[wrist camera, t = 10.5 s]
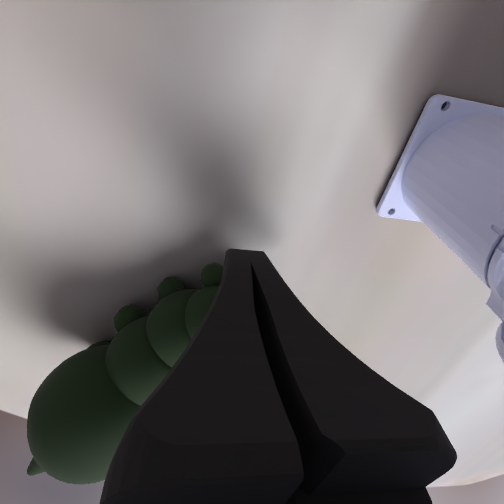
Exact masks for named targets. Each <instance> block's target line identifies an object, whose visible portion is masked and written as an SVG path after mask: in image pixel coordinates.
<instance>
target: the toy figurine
mask: <svg viewBox="0 0 504 504" xmlns="http://www.w3.org/2000/svg"><path fill="white" fill-rule="evenodd" d="M223 268H224V267H223V266H222V265H220V264H218V263H212V264H208V265H207V266H206V267H205V268H204V269H203V270H202V273H201V280H200V281H201V282H202V283H203V285H204V286H205V287H203V288H201V289H199V290H196V289H187V290H184V286H183V284H182V283H181V282H180V280H179V279H177V278H166V279H165V280H164V281H162V282H161V284H160V285H159V286H158V288H157V291H158V297H159V299H160V301H159V302H158V304H157V305H156V306H155V307H154V308H153V310H152V311H151V312H150V314H149V316H147V314H146V312H145V311H144V310H143V309H142V308H140V307H139V306H137V305H133V304H130V305H128V306H125V307H122V308H121V309H120V310H119V312H118V313H117V315H116V316H115V317H114V324H115V328H116V330H117V332H118V333H117V334H116V336H115V337H114V338H113V339H112V341H111V342H106V341H102V342H98V343H95V344H93V345H91V346H90V347H88V348H87V349H86V350H83V351H81V352H79V353H77V354H75V355H73V356H71V357H70V358H68V359H66V360H65V361H63V362H62V363H61V364H60V365H59V366H58V367H56V368H55V369H54V370H53V371H52V372H51V373H50V374H49V375H48V376H47V377H46V378H45V380H44V381H43V383H42V384H41V385H40V387H39V388H38V390H37V391H36V393H35V395H34V397H33V399H32V401H31V404H30V408H29V412H28V420H27V438H28V442H29V447H30V450H31V453H32V455H33V459H32V461H31V462H30V465H29V466H28V469H27V474H28V475H36V474H39V473H42V472H46V473H47V474H49V475H50V476H52V477H54V478H56V479H58V480H60V481H63V482H66V483H72V484H90V483H96V482H99V481H102V480H105V478H106V475H107V472H108V469H109V466H110V463H111V461H112V458H113V456H114V454H115V452H116V449H117V447H118V445H119V443H120V441H121V439H122V437H123V435H124V433H125V431H126V430H127V428H128V426H129V424H130V422H131V420H132V418H133V417H134V414H135V413H136V411H137V410H138V409H139V408H140V407H141V405H142V404H143V403H144V402H145V401H146V400H147V398H148V397H149V396H150V395H151V394H152V392H153V391H154V390H155V389H156V388H157V386H158V385H159V384H160V383H161V382H162V380H163V379H164V378H165V376H166V375H167V374H168V372H169V371H170V370H171V368H172V367H173V366H174V364H175V363H176V361H177V360H178V359H179V357H180V356H181V355H182V353H183V352H184V350H185V349H186V347H187V346H188V344H189V343H190V341H191V339H192V338H193V336H194V335H195V333H196V331H197V330H198V328H199V326H200V325H201V323H202V321H203V319H204V317H205V316H206V314H207V312H208V310H209V308H210V306H211V304H212V301H213V299H214V297H215V295H216V292H217V290H218V288H219V285H220V282H221V279H222V274H223Z"/></svg>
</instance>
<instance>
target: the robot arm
mask: <svg viewBox="0 0 504 504" xmlns="http://www.w3.org/2000/svg"><path fill="white" fill-rule="evenodd" d="M444 102H446V106H445V107H444V108H443V109H442V110H441V106H442V104H443V103H444ZM392 208H393V210H392V211H390V212H388V211H389V210H390V209H392ZM376 211H377V213H378V214H379V215H380V216H382V217H389V218H397V219H405V220H412V221H420V222H423V223H424V224H425V225H426V226H427V227H428V228H429V229H430V230H431V231H432V232H433V233H434V234H435V235H436V236H437V237H438V238H439V239H440V240H441V241H442V242H443V243H444V244H445V245H447V246H448V247H449V248H450V249H451V250H452V251H453V252H454V253H455V254H456V255H457V256H458V257H459V258H460V259H461V260H462V261H463V262H464V263H465V264H466V265H467V266H468V267H469V268H470V269H471V270H472V271H473V272H474V273H475V274H476V275H477V276H478V277H479V278H480V279H481V280H482V281H483V282H484V283H485V284H486V285H487V286H488V287H489V288H490V289H491V295H490V298H489V299H488V301H487V303H486V304H487V305H488V306H489V307H490V308H491V310H492V311H493V312H494V313H495V314H496V315H497V316H498V317H499V318H500V319H501V320H502V321H503V322H502V323H501V324H500V326H499V327H498V329H497V332H496V337H495V338H496V346H497V349H498V352H499V355H500V357H501V358H502V360H503V362H504V108H503V107H498V106H493V105H488V104H484V103H479V102H474V101H469V100H465V99H460V98H455V97H450V96H446V95H441V94H436V95H433V96H432V97H431V98H429V100H428V101H427V103H426V106H425V108H424V110H423V112H422V114H421V116H420V118H419V120H418V122H417V124H416V127H415V129H414V131H413V133H412V135H411V137H410V139H409V141H408V143H407V145H406V148H405V150H404V152H403V154H402V156H401V158H400V160H399V162H398V164H397V166H396V169H395V171H394V173H393V175H392V177H391V179H390V181H389V183H388V185H387V187H386V190H385V192H384V194H383V196H382V198H381V200H380V202H379V204H378V206H377V209H376ZM456 459H457V454H456V451H455V449H454V448H453V446H452V444H451V442H450V441H449V439H448V437H447V435H446V434H445V432H444V430H443V428H442V426H441V425H440V423H439V421H438V419H437V418H436V416H435V415H434V413H433V411H432V410H430V409H429V408H427V407H426V406H424V405H423V404H421V403H420V402H418V401H417V400H415V399H414V398H412V397H411V396H409V395H407V394H406V393H404V392H403V391H401V390H400V389H398V388H397V387H395V386H394V385H392V384H391V383H390V382H388V381H387V380H386V379H384V378H383V377H382V376H380V375H379V374H377V373H376V372H375V371H373V370H372V369H371V368H369V367H368V366H367V365H366V364H364V363H363V362H362V361H361V360H359V359H358V358H357V357H356V356H355V355H353V354H352V353H351V352H350V351H349V350H348V349H346V348H345V347H344V346H343V345H342V344H341V343H339V342H338V341H337V340H336V339H335V338H334V337H333V336H332V335H331V334H330V333H329V332H328V331H327V330H326V329H325V328H324V327H323V326H322V325H321V324H320V323H319V322H318V321H317V320H316V319H315V318H314V317H313V316H312V315H311V314H310V313H309V312H308V310H307V309H306V308H305V307H304V306H303V305H302V303H301V302H300V301H299V300H298V299H297V297H296V296H295V295H294V293H293V292H292V291H291V290H290V288H289V287H288V286H287V284H286V283H285V282H284V280H283V279H282V277H281V276H280V275H279V273H278V272H277V270H276V269H275V267H274V266H273V264H272V263H271V261H270V260H269V258H268V257H267V255H266V254H265V253H264V252H263V251H252V250H240V249H228V250H227V251H226V255H225V262H224V268H223V274H222V279H221V282H220V285H219V288H218V290H217V292H216V295H215V297H214V299H213V301H212V304H211V306H210V308H209V310H208V312H207V314H206V316H205V317H204V319H203V321H202V323H201V325H200V326H199V328H198V330H197V331H196V333H195V335H194V336H193V338H192V339H191V341H190V343H189V344H188V346H187V347H186V349H185V350H184V352H183V353H182V355H181V356H180V357H179V359H178V360H177V361H176V363H175V364H174V366H173V367H172V368H171V370H170V371H169V372H168V374H167V375H166V376H165V378H164V379H163V380H162V382H161V383H160V384H159V385H158V386H157V388H156V389H155V390H154V391H153V392H152V394H151V395H150V396H149V397H148V398H147V400H146V401H145V402H144V403H143V404H142V405H141V407H140V408H139V409H138V410H137V411H136V413H135V414H134V417H133V418H132V420H131V422H130V424H129V426H128V428H127V430H126V431H125V433H124V435H123V437H122V439H121V441H120V443H119V445H118V447H117V449H116V452H115V454H114V456H113V458H112V461H111V463H110V466H109V469H108V472H107V475H106V478H105V482H104V487H103V491H102V495H101V500H100V504H432V501H431V498H430V496H429V494H428V492H427V490H426V486H427V485H429V484H430V483H432V482H433V481H435V480H436V479H437V478H439V477H440V476H442V475H443V474H445V473H446V472H447V471H449V470H450V469H451V468H452V467H453V466H454V464H455V462H456Z"/></svg>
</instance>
